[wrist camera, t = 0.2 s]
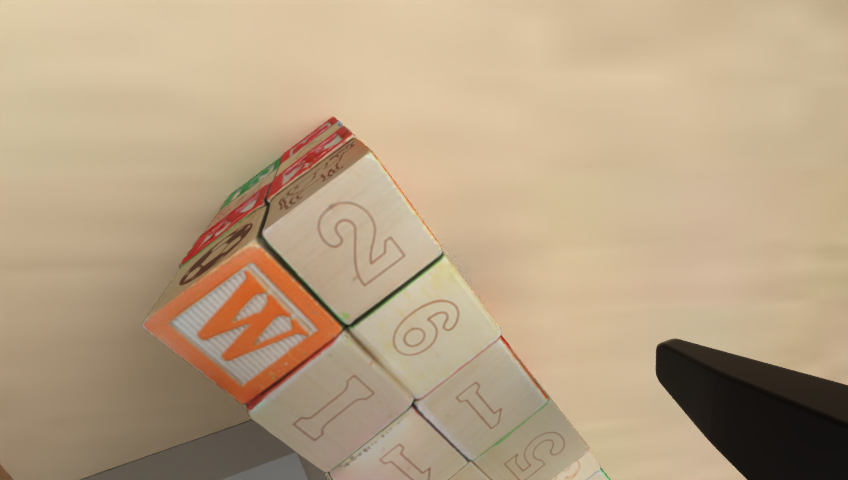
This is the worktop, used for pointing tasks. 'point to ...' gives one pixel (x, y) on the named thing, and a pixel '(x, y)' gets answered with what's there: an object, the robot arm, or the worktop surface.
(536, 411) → the stack of blocks
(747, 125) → the worktop surface
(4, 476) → the board
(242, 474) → the frame
